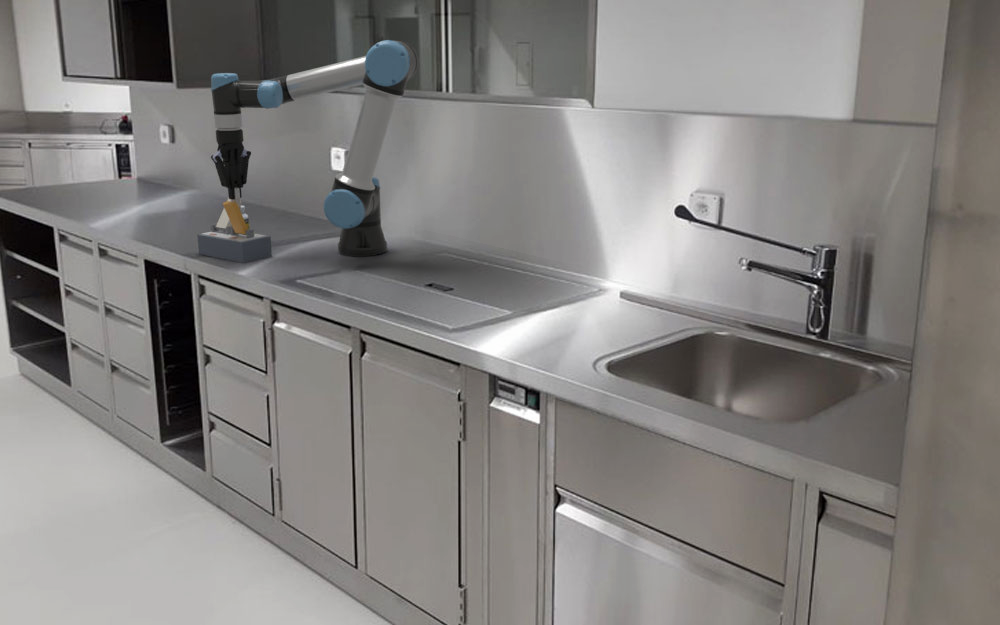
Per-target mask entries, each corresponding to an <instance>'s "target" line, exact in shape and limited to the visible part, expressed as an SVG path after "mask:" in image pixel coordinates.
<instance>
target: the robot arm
mask: <svg viewBox="0 0 1000 625" xmlns="http://www.w3.org/2000/svg"><path fill="white" fill-rule="evenodd" d="M418 67H419V57H418V55H417V51H416V50H415V49H414V47H412V46H411V44H409V43H408V42H406V41H403V40H392V39H386V40H385V39H384V40H381V41H379V42H377V43H375V44H374V45H372V46H371V47H370V49H369V50H368V51H367V53H366V55H363V56H359V57H356V58H352V59H348V60H344V61H340V62H337V63H336V62H335V63H332V64H328V65H324V66H321V67H316V68H311V69H309V70H304V71H299V72H296V73H292V74H288V75H283V76H279V77H274V78H270V79H264V80H263V79H262V80H240V79H239V76H238V74H237V73H232V72H231V73H230V72H224V73H223V72H220V73H219V72H218V73H213V74H212V75H211V77H210V83H211V86H210V87H211V89H210V91H211V96H212V106H213V117H214V118H213V120H214V126H215V127H214V128H216V130H215V139H216V143H217V146H218V147H217V152H216V153H215V154H212V155H211V156H210V159H211V161H212V162H213V163H214V166H215V170H216V171H217V176H218V178H219V181H220V185H221V187H223V188H226V189H227V193H228V194H227V195H228V198H229V199H231V202H236V203H237V204H238V207H239V209H240V210H241V206H242V203H241V202H240V200H241V198H243V196H242V194H243V193H242V188H244V185H246V184H247V181H248V170H249V163H250V162H249V161H250V158H251V156H252V151H250V150H246V148H245V146H244V143H243V142H244V131H243V129H242V127H243V119H242V109H246V108H249V109H269V110H270V109H277V108H279V107H280V106H281V105H284V104H287V103H290V102H291V103H292V102H295V101H299V100H302V99H307V98H312V97H316V96H320V95H324V94H328V93H333V92H336V91H341V90H345V89H349V88H353V87H357V86H362V85H363V87H364V89H365V93H364V97H363V100H362V103H361V107H360V109H359V110H360V111H359V114H358V117H357V120H356V124H355V128H354V131H353V134H352V138H351V140H350V141H351V142H350V144H349V147H348V152H347V154H346V158H345V162H344V166H343V168H342V171H340V172H339V173H337V174H336V175H335V177H334V180H333V184H332V187H331V191H330V192H329V193H328V194H327V195H326V196H325V199H324V202H323V211H324V212H323V213H324V215H325V217H326V219H327V220H328V221H329V222H330V224H332V225H333V226H335V227H337V228H339V229H341V233H340V237H339V242H338V243H337V253H339V254H340V255H343V256H349V257H350V256H351V257H371V255H372V256H378V255H377V254H379V255H382V254H384V252H385V253H386V251H387V252H388V242H387V240H386V238H385V235H384V231H383V228H382V221H381V220H382V219H381V218H382V217H381V214H382V213H381V185H380V180H379V179H378V177H376V176H374V174H375V171H376V167H377V164H378V161H379V157H380V153H381V151H382V147H383V145H384V141H385V137H386V135H387V134H386V133H387V130H388V127H389V124H390V120H391V117H392V114H393V111H394V108H395V104H396V101H398V100H399V99H401V98H403V96H404V92H405V91H406V87H407V83H408V81H409V80H410V79H412V78H413V77H414V75H415V74H416V72H417V71H418ZM381 253H382V254H381Z"/></svg>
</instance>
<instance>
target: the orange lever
mask: <svg viewBox="0 0 1000 625" xmlns="http://www.w3.org/2000/svg"><path fill="white" fill-rule="evenodd" d="M222 205H223V209H224V208H225V210H226V213H227V215H228V217H229V219H230V222H231V224H232V226H233V228H234V233H236V234H241V235H246V230H248V228H247V225H246V223H245V221H244V218H243V216H242V214H241V211H240V209H239V207H238V204H237V203H236V202H229V201H227V200H226V201H225V202H223V203H222Z"/></svg>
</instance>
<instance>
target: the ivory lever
mask: <svg viewBox="0 0 1000 625" xmlns="http://www.w3.org/2000/svg"><path fill="white" fill-rule="evenodd" d="M226 201H229V202H231V199H229V197H227V200H226ZM240 202H241V204H242V202H243V200H241V199H240ZM228 226H232V224H231V222H230V219H229V217H228V215H227V213H226V210H225V208H224V207H223V210H222V212H221V214H220V216H219V218H218V221H217V225H216V226H215V230H219V231H224V232H226V227H228Z"/></svg>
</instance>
